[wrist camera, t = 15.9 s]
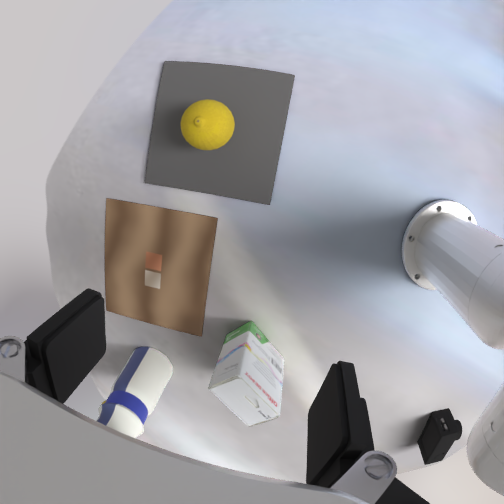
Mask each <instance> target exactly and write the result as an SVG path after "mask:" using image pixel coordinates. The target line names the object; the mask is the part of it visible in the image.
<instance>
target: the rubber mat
mask: <svg viewBox="0 0 504 504" xmlns="http://www.w3.org/2000/svg"><path fill="white" fill-rule="evenodd" d="M294 77H295V75H292V74H286V73H281V72H275V71H269V70H262V69H256V68H248V67H241V66H232V65H222V64H211V63H198V62H179V61H165V62H164V67H163V72H162V76H161V81H160V86H159V91H158V97H157V102H156V108H155V114H154V120H153V126H152V132H151V139H150V146H149V153H148V161H147V169H146V178H145V183H148V184H154V185H161V186H167V187H173V188H179V189H185V190H191V191H197V192H203V193H209V194H214V195H220V196H225V197H231V198H236V199H241V200H246V201H252V202H257V203H262V204H267V205H270V201H271V196H272V191H273V186H274V181H275V176H276V171H277V165H278V160H279V155H280V150H281V145H282V140H283V135H284V129H285V124H286V119H287V114H288V109H289V103H290V98H291V93H292V88H293V82H294ZM206 99H209V100H216V101H218V102H221V103H222V104H224V105H225V106H227V107H228V109H229V110H230V111H231V113H232V115H233V117H234V123H235V126H234V132H233V134H232V137H231V138H230V140H229V141H228V142H227V143H226V144H225V145H224V146H222V147H220V148H218V149H214V150H201V149H197V148H195V147H193V146H192V145H190V144H189V143H188V142H187V141H186V140H185V138H184V136H183V135H182V131H181V119H182V116H183V114H184V112H185V110H186V109H187V108H188V107H189V106H190V105H192V104H193V103H195V102H197V101H200V100H206Z"/></svg>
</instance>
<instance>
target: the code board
mask: <svg viewBox="0 0 504 504" xmlns="http://www.w3.org/2000/svg"><path fill="white" fill-rule="evenodd" d="M217 220H218V218H214V217H209V216H204V215H198V214H193V213H188V212H182V211H177V210H171V209H166V208H160V207H155V206H149V205H143V204H138V203H132V202H126V201H120V200H114V199H108V198H107V199H106V219H105V290H106V310H107V311H110V312H113V313H116V314H120V315H123V316H126V317H130V318H133V319H137V320H140V321H144V322H147V323H151V324H154V325H158V326H162V327H165V328H169V329H173V330H177V331H181V332H185V333H189V334H193V335H197V336H201V337H202V329H203V321H204V313H205V305H206V297H207V290H208V282H209V275H210V268H211V261H212V254H213V247H214V240H215V233H216V226H217Z"/></svg>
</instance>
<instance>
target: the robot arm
mask: <svg viewBox="0 0 504 504" xmlns="http://www.w3.org/2000/svg"><path fill="white" fill-rule="evenodd" d="M436 207H437V209H436ZM410 236H411V237H410ZM409 237H410V238H409ZM402 260H403V264H404V267H405V270H406V272H407V273H408V275H409V276H410V278H411V279H412V280H413V281H414V282H415V283H416V284H418V285H419V286H421V287H423V288H425V289H429V290H438V291H439V292H440V294H441V295H442V296H443V297H444V298H445V299H446V300H447V301H448V302H449V304H450V305H451V306H452V307H453V308H454V309H455V310H456V312H457V313H458V314H459V315H460V316H461V317H462V319H463V320H464V321H465V322H466V323H467V325H468V326H469V327H470V328H471V329H472V331H473V332H474V333H475V334H476V335H477V336H478V338H479V339H480V340H481V341H482V342H483V343H485V344H486V345H488V346H490V347H492V348H495V349H500V350H504V239H502V238H501V237H499V236H497V235H495V234H493V233H491V232H490V231H488V230H486V229H484V228H482V227H480V226H478V225H477V222H476V220H475V218H474V216H473V215H472V213H471V212H470V211H469V210H468V209H467V208H466V207H465V206H464V205H462V204H460V203H458V202H455V201H452V200H438V201H434V202H432V203H429V204H428V205H426V206H425V207H423V208H422V209H421V210H420V211H418V212H417V213H416V214H415V216H414V217H413V218H412V220H411V221H410V223H409V225H408V227H407V229H406V231H405V234H404V237H403V243H402ZM105 351H106V336H105V311H104V298H103V297H102V295H101V293H100V292H97V291H94V290H92V289H86V290H85V291H83V292H82V293H81V294H80V295H78V296H77V297H76V298H74V299H73V300H72V301H71V302H69V303H68V304H67V305H65V306H64V307H63V308H62V309H60V310H59V311H58V312H57V313H55V314H54V315H53V316H52V317H51V318H49V319H48V320H47V321H46V322H44V323H43V324H42V325H41V326H39V327H38V328H37V329H36V330H35V331H33V332H32V333H31V334H30V335H29V336H27V340H26V341H25V342H23V341H22V340H21V339H19V338H17V337H15V336H6V337H3V338H0V504H430V503H429V502H427V501H426V500H424V499H423V498H421V497H420V496H419V495H418V494H416V493H415V492H414V491H412V490H411V489H410V488H408V487H407V486H406V485H405V484H403V483H402V482H401V481H399V480H398V479H397V478H395V476H396V474H397V466H396V463H395V461H394V460H393V458H392V457H390V456H389V455H388V454H386V453H384V452H381V451H375V450H374V444H373V438H372V432H371V426H370V421H369V415H368V410H367V405H366V401H365V399H364V398H360V394H359V389H358V383H357V378H356V373H355V368H354V364H353V363H348V362H343V361H338V363H337V364H332V366H331V368H330V370H329V372H328V374H327V376H326V378H325V380H324V382H323V384H322V386H321V388H320V390H319V392H318V394H317V396H316V398H315V400H314V402H313V403H312V405H311V407H310V409H309V413H308V441H307V474H306V483H307V484H303V483H298V482H291V481H285V480H280V479H274V478H269V477H264V476H259V475H254V474H249V473H245V472H240V471H236V470H232V469H228V468H224V467H220V466H216V465H212V464H209V463H205V462H202V461H198V460H195V459H192V458H189V457H185V456H182V455H179V454H176V453H173V452H170V451H167V450H164V449H162V448H159V447H156V446H153V445H151V444H148V443H146V442H143V441H140V440H138V439H135V438H133V437H131V436H128V435H126V434H123V433H121V432H119V431H117V430H114V429H112V428H110V427H108V426H105V425H103V424H101V423H99V422H97V421H95V420H93V419H90V418H89V417H87V416H85V415H83V414H81V413H79V412H77V411H75V410H73V409H71V408H69V407H67V406H66V405H64V404H63V403H64V402H65V401H66V400H67V399H68V398H69V396H70V395H71V394H72V393H73V391H74V390H75V389H76V388H77V387H78V385H79V384H80V383H81V382H82V381H83V379H84V378H85V377H86V376H87V374H88V373H89V372H90V371H91V370H92V369H93V367H94V366H95V365H96V364H97V363H98V361H99V360H100V359H101V358H102V357H103V355H104V354H105ZM467 457H468V460H469V464H470V466H471V468H472V470H473V471H474V473H475V474H476V475H477V477H478V478H479V479H480V480H481V481H482V482H483V483H485V484H486V485H487V486H488V487H490V488H491V489H493V490H494V491H496V492H497V493H499V494H501V495H503V496H504V382H503V384H502V385H501V387H500V388H499V390H498V391H497V393H496V394H495V396H494V397H493V399H492V400H491V402H490V403H489V405H488V406H487V408H486V409H485V410H484V412H483V413H482V415H481V416H480V417H479V419H478V420H477V422H476V423H475V425H474V427H473V429H472V431H471V433H470V435H469V438H468V442H467Z"/></svg>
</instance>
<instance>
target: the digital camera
mask: <svg viewBox="0 0 504 504" xmlns="http://www.w3.org/2000/svg"><path fill="white" fill-rule="evenodd" d="M461 434H462V425H461V423H460V421H459V420H454V418H453V416H452V414H451V411H450V409H449V408H448V409H444V410H439V411H434V412H432V413H431V415H430V417H429V419H428V421H427V424H426V426H425V428H424V430H423V432H422V434H421V436H420V438H419V440H418V445H419V448H420V451H421V454H422V457H423V461H424V464H425V465H426V464H430V463H434V462H438V461H442V460H443V458H444V457H445V455H446V454H447V452H448V450H449V449H450V447H451V446H452V444H453V442H454V441H455V440H458V439H460V437H461Z"/></svg>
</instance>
